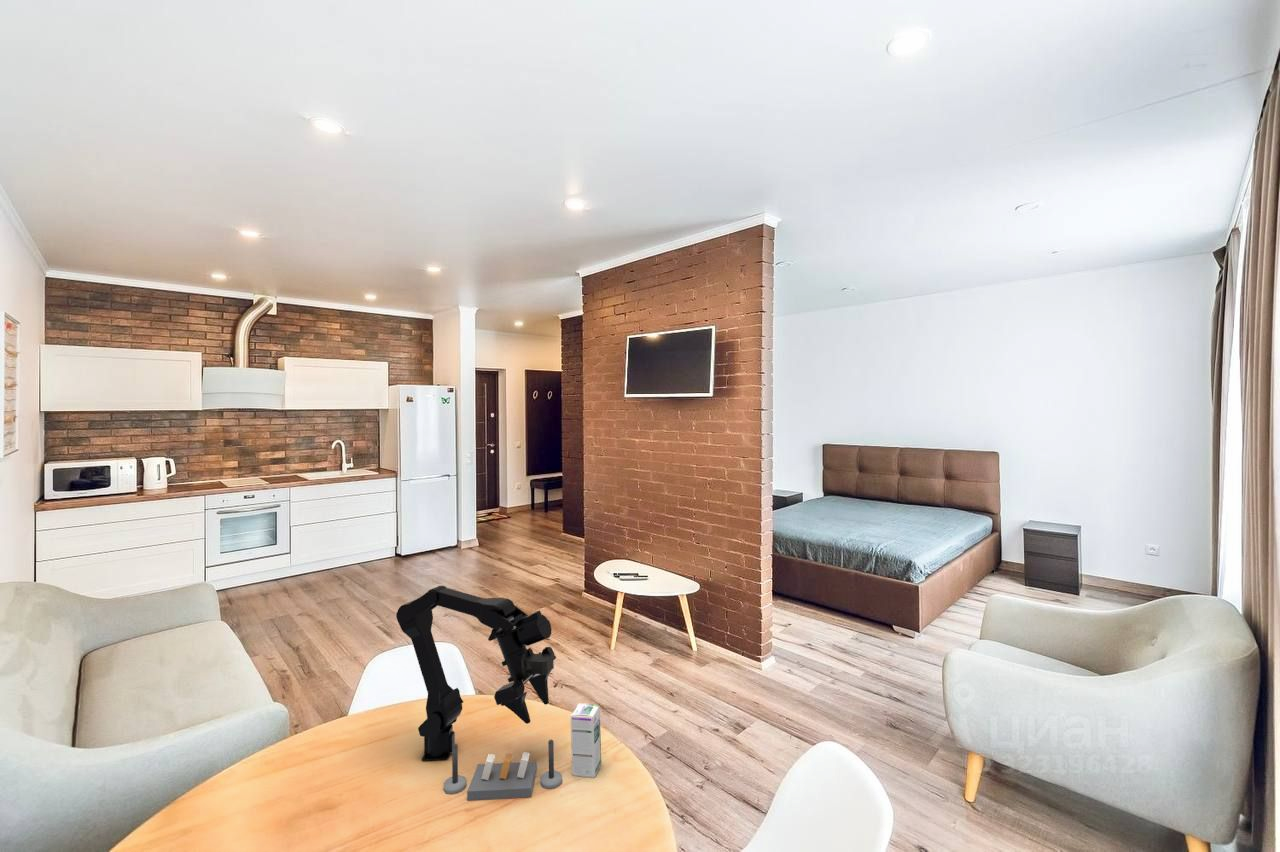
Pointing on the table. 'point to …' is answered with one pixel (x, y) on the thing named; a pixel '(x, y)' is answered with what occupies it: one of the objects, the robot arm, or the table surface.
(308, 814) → the table surface
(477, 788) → the panel
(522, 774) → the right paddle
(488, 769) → the left paddle
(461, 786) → the stand
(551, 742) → the stand
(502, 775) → the orange rectangular block
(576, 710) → the syrup box
